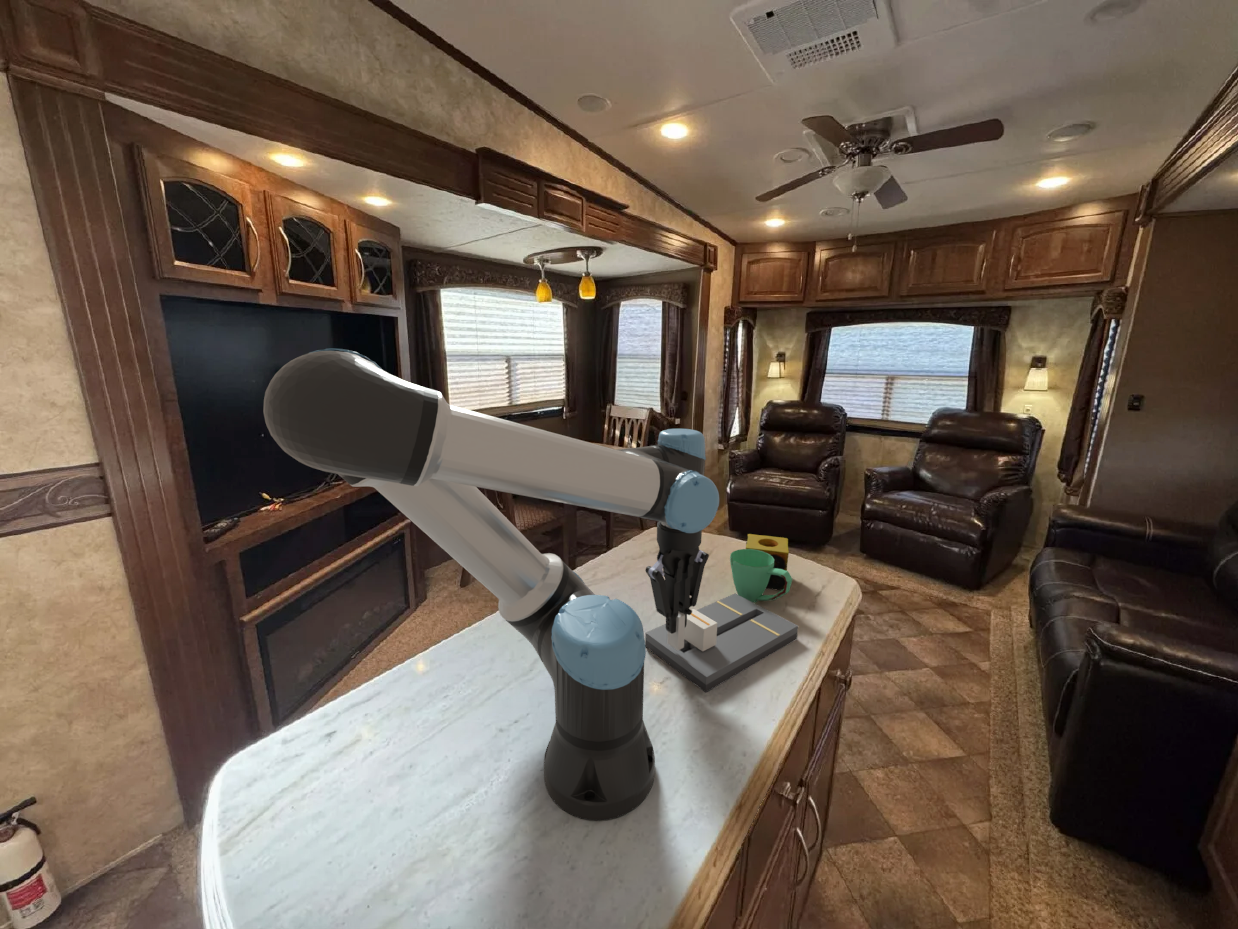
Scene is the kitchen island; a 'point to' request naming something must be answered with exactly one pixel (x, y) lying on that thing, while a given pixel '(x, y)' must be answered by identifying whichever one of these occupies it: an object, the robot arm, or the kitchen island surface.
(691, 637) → the fader tab
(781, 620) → the console
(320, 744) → the kitchen island surface
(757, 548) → the yellow cube with holes
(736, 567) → the mug
